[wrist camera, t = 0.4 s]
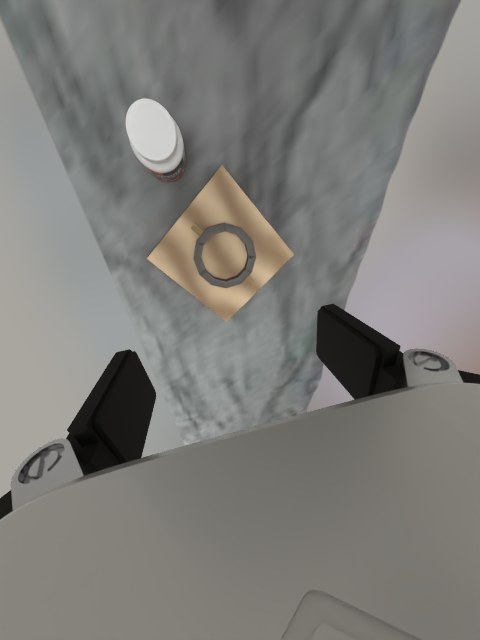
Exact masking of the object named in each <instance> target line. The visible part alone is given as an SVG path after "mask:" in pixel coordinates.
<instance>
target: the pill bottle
mask: <svg viewBox="0 0 480 640" xmlns="http://www.w3.org/2000/svg"><path fill="white" fill-rule="evenodd" d="M126 130H127V134H128V137H129V140H130V144H131V147H132V149H133V151H134V153H135V155H136V156H137V158H138V159H139V161H140V162H141V163H142V164H143V165H144V166H145V167H146V168H147V169H148V170H149V171H150V172H151V173H152V174H153V175H154V176H155V177H157V178H158V179H160V180H163V181H167V182H171V181H175V180H177V179H179V178H180V177H181V176H182V174H183V173H184V171H185V167H186V153H185V149H184V143H183V138H182V135H181V132H180V129H179V127H178V125H177V124H176V122H175V121H174V119H173V118H172V117H171V116H170V114H169V113H168V111H167V110H166V109H165V108H164V107H163V106H162V105H161V104H159V103H158V102H156V101H154V100H151V99H139V100H137V101H135V102H134V103H133V104H132V105H131V106H130V107H129V109H128V112H127V115H126Z"/></svg>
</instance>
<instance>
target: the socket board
mask: <svg viewBox="0 0 480 640" xmlns="http://www.w3.org/2000/svg"><path fill="white" fill-rule="evenodd" d="M293 255H294V254H293V253H292V252H291V250H290V249H289V248H288V247H287V245H286V244H285V243H284V242H283V240H282V239H281V238H280V237H279V235H278V234H277V233H276V232H275V230H274V229H273V228H272V227H271V226H270V224H269V223H268V222H267V221H266V219H265V218H264V217H263V216H262V214H261V213H260V212H259V211H258V209H257V208H256V207H255V206H254V204H253V203H252V202H251V201H250V199H249V198H248V197H247V196H246V195H245V193H244V192H243V191H242V190H241V188H240V187H239V186H238V185H237V183H236V182H235V181H234V180H233V178H232V177H231V176H230V175H229V173H228V172H227V171H226V170H225V168H224V167H223V166H221V167H220V168H219V169H218V171H217V172H216V173H215V174H214V176H213V177H212V178H211V179H210V181H209V182H208V183H207V184H206V186H205V187H204V188H203V189H202V191H201V192H200V193H199V194H198V196H197V197H196V198H195V199H194V200H193V202H192V203H191V204H190V205H189V207H188V208H187V209H186V210H185V212H184V213H183V214H182V215H181V217H180V218H179V219H178V220H177V222H176V223H175V224H174V225H173V227H172V228H171V229H170V230H169V232H168V233H167V234H166V235H165V237H164V238H163V239H162V240H161V242H160V243H159V244H158V245H157V247H156V248H155V249H154V250H153V252H152V253H151V254H150V255H149V257H148V258H147V259H148V260H149V261H150V262H152V263H153V264H154V265H156V266H157V267H158V268H159V269H161V270H162V271H163V272H164V273H166V274H167V275H168V276H169V277H171V278H172V279H173V280H174V281H176V282H177V283H178V284H180V285H181V286H182V287H183V288H185V289H186V290H187V291H188V292H190V293H191V294H192V295H193V296H195V297H196V298H197V299H198V300H200V301H201V302H202V303H204V304H205V305H206V306H207V307H209V308H210V309H211V310H212V311H214V312H215V313H216V314H217V315H219V316H220V317H221V318H222V319H224V320H225V321H226V322H227V321H228V320H229V319H230V318H231V317H232V316H233V315H234V314H235V313H236V312H237V311H238V310H239V309H240V308H241V307H242V306H243V305H244V304H245V303H246V302H247V301H248V300H249V299H250V298H251V297H252V296H253V295H254V294H255V293H256V292H257V291H258V290H259V289H260V288H261V287H262V286H263V285H264V284H265V283H266V282H267V281H268V280H269V279H270V278H271V277H272V276H273V275H274V274H275V273H276V272H277V271H278V270H279V269H280V268H281V267H282V266H283V265H284V264H285V263H286V262H287V261H288V260H289V259H290V258H291V257H292V256H293Z"/></svg>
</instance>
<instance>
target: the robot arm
mask: <svg viewBox="0 0 480 640" xmlns="http://www.w3.org/2000/svg"><path fill="white" fill-rule="evenodd" d="M399 350H400V345H398V344H396V343H395V342H393V341H392V340H390V339H389V338H387V337H385V336H384V335H382V334H381V333H379V332H377V331H376V330H374V329H373V328H371V327H369V326H368V325H366V324H365V323H363V322H361V321H360V320H358V319H357V318H355V317H354V316H352V315H350V314H349V313H347V312H346V311H344V310H343V309H341V308H339V307H338V306H336V305H335V304H330V305H325V306H322V307H321V308H320V310H318V318H317V347H316V352H317V355H318V357H319V359H320V360H321V361H322V362H323V363H324V364H325V366H326V367H327V368H328V369H329V370H330V371H331V372H332V374H333V375H334V376H335V377H336V378H337V379H338V381H339V382H340V383H341V384H342V385H343V386H344V388H345V389H346V390H347V391H348V392H349V393H350V395H351V396H352V397H353V398H354V399H355V400H352V401H349V402H344V403H341V404H337V405H333V406H329V407H326V408H322V409H318V410H314V411H311V412H307V413H303V414H299V415H296V416H292V417H288V418H284V419H281V420H277V421H273V422H270V423H266V424H262V425H259V426H255V427H251V428H248V429H244V430H240V431H237V432H233V433H229V434H226V435H222V436H218V437H215V438H211V439H208V440H204V441H200V442H197V443H193V444H190V445H186V446H183V447H179V448H175V449H172V450H168V451H164V452H161V453H157V454H154V455H150V456H147V457H143V458H141V456H142V452H143V448H144V444H145V440H146V436H147V432H148V428H149V424H150V420H151V416H152V412H153V408H154V403H155V399H156V392H155V389H154V387H153V385H152V383H151V381H150V379H149V377H148V375H147V373H146V371H145V369H144V367H143V365H142V363H141V361H140V359H139V357H138V355H137V353H136V352H132V351H131V350H125V351H120V352H117V353H116V354H115V355H114V357H113V358H112V360H111V361H110V363H109V364H108V366H107V368H106V369H105V371H104V373H103V374H102V376H101V377H100V379H99V380H98V382H97V383H96V385H95V387H94V388H93V390H92V391H91V393H90V395H89V396H88V398H87V399H86V401H85V402H84V404H83V406H82V407H81V409H80V410H79V412H78V414H77V415H76V417H75V418H74V420H73V421H72V423H71V425H70V426H69V428H68V429H67V431H68V432H69V435H68V436H67V438H66V439H57V440H54V441H51V442H49V443H47V444H45V445H43V446H42V447H40V448H38V449H37V450H36V451H35V452H33V453H32V454H31V455H30V456H29V457H28V458H26V459H25V461H23V462H22V464H21V465H20V466H19V467H18V469H17V470H16V472H15V473H14V475H13V477H12V481H11V491H9V492H8V493H7V494H5V495H4V496H3V497H1V498H0V640H480V375H478V374H473V373H469V372H464V371H459V370H457V368H456V365H455V364H454V363H453V361H452V360H450V359H449V358H448V357H446V356H444V355H442V354H440V353H437V352H434V351H430V350H426V349H410V350H407V351H406V352H404V353H402V352H400V351H399Z"/></svg>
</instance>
